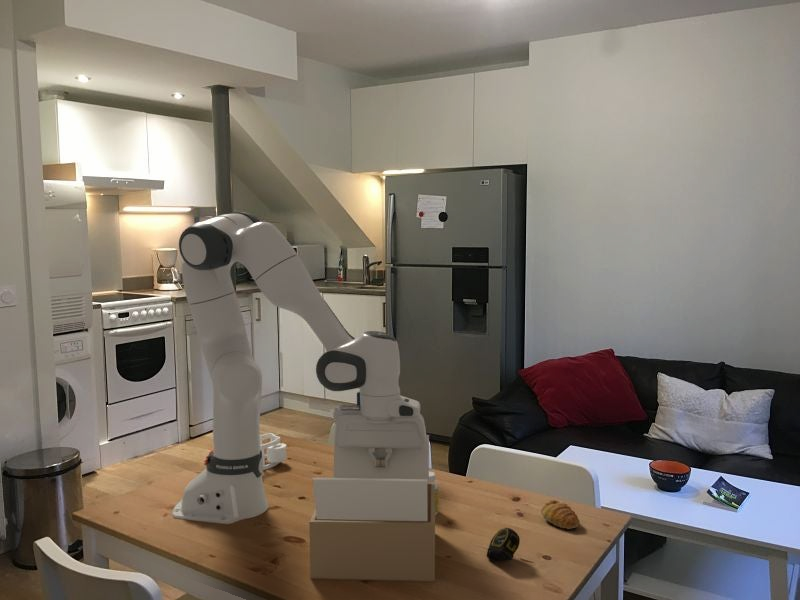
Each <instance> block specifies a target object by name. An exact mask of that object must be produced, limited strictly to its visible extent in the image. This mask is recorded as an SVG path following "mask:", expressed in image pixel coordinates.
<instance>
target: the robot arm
mask: <svg viewBox="0 0 800 600" xmlns="http://www.w3.org/2000/svg"><path fill="white" fill-rule="evenodd" d="M178 248H179V253H180V256H181V258H182V260H183V262H182V264H181V274H182V283H183V288H184V293H185V297H186V300H187V304H188V307H189V311H190V314H191V318H192V320H193V323H194V327H195V330H196V333H197V337H198V339H199V344H200V346H201V347H200V348H201V350H202V353H203V356H204V361H205V364H206V367H207V371H208V373H209V377H210V379H211V383H212V388H213V403H212V404H213V406H212V407H213V413H212V440H213V441H212V443H213V444H212V445H213V446H212V447H213V449H211V450H210V451H209V453H208V454H207V456H206V457H205V460H204V461H203V462H204V463H203V466H206V468H205V469H204V470H203V471H201V472H200V473H199V474H197V475H196V476H195V477H193V479H191V481H189V483H187V485H186V487H185V488H184V490H183V493H182V499H181V500H180V501H179V502H178V503H177V504H176V505H175V506H174V507H173V509H172V513H171V514H172V515H171V516H172V517H173V518H174V519H178V520H179V519H180V520H189V521H197V522H204V523H207V522H208V523H216V524H224V525H229V524H234V523H236V522H239V521H242V520H246V519H251V518H254V517H257V516H260V515H262V514H263V513H265V512H266V511H267V510H268V509H269V503H268V500H267V498H266V497H267V496H266V493H265V489H264V481H263V475H262V474H263V472H264V470H263V457H262V451H261V450H260V435H261V427H260V426H261V425H260V423H261V422H260V419H261V418H260V417H261V409H262V407H261V405H262V395H263V394H262V390H263V389H262V388H263V387H262V385H263V384H262V383H263V375H262V370H261V368H260V366H259V365H258V364H257V362H256V361H255V359H254V357H253V354H252V350H251V346H250V342H249V339H248V334H247V330H246V324H245V321H244V317H243V314H242V313H243V312H242V309H241V306H240V303H239V299H238V297H237V293H236V291H235V287H234V284H233V280H232V277H231V268H232V266H233V265H234V264H235V263H237V264H241V265H243V266H244V267H245V269H246V270H247V271H248V272H249V274H250V276H251V277H252V279H253V281H254V282H255V284H256V286H257V287H258V289H259V290H260V292H261V294H263V295H264V296H265V297H266V299H268V300H269V302H270V303H271V304H272V305H273V306H275V307H277V308H279V309H283V310H286V311H289V312H292V313H294V314H295V315H298V317H300V318H302V319H303V320H304V321H305V322H306V324H307V325H308V326H309V327H310V329H311V330H312V332H313V333H314V334H315V336H316V337H317V339H318V340H319V342H320V343H321V345H322V346H323V347H324V349H325V352H324V353H323V354H322V355H321V356H320V357H319V358H318V360H317V362H316V366H315V373H316V377H317V378H316V379H317V380H318V381H319V383H320V384H321V385H322V386H323V388H325V389H327V390H329V391H331V392H344V391H345V392H346V391H350V390H356V389H359V391H360V405H357V404H339V406H337V407H336V408H335V409H334V411H333V414H332V415H333V418H332V419H333V422H334V423H335V430H334V443H335V444H336V446H337V447H339V448H369V454H370V456H371V457H372V459H373V460H374V467H382V468H387V467H388V459H389V457H390V456H391V454H392V451H393V448H411V449H422V448H423V447H424V446H425V445H426V435H427V431H426V430H427V429H426V425H425V424H426V423H425V419H424V416H423V415H422V414H421V403H420V401H419V400H415V399H413V398H409V397H406V396H403V395H401V389H400V388H401V387H400V385H399V378H400V374H401V360H400V359H401V358H400V349H399V343H398V341H397V339H396V338H395V337H394V336H393V335H392V334H389V333H387V332H383V331H377V330H374V331H373V330H367V331H364V332H362V333H361V334H360V335H359V336H357V337H354V336H352V335H351V333H350V332H348V331H347V329H346V328H345V327H344V325H343V323H342V322H341V321H340V320H339V318H338V317H337V316H336V313H334V312H333V310H332V308H331V307H330V305H328V302H326V300H325V299H324V297H323V296H322V294H321V292H320V291H319V289H318V288H317V286H316V284H315V282H314V281H313V279H312V277H311V275H310V273H309V271H308V269H307V267H306V266H305V264H304V263H303V261H302V260H301V258H300V256H299V255H298V253H297V251H296V250H295V249H294V247H293V246H292V245H291V243H290V242H289V241H288V240H287V239H286V237H285V236H284V235H283V234H282V233H281V231H280V230H279V229H278V228H277V227H276V226H275V225H274V224H272V223H270V222H268V221H260V219H259V218H258V217H257V216H255V215H254V214H252V213H248V212H243V211H236V212H235V211H234V212H232V213H227V214H226V213H225V214H220V215H215V216H213V217H211V218H209V219H206V220H204V221H198V222H195V223H194V224H191V225H190V226H187V228H185V229H184V230H183V231H182V233H181V234H180V237H179V240H178ZM376 448H386V453H387V455H386V457H385V458H377V456H376V454H375V450H376Z"/></svg>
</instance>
